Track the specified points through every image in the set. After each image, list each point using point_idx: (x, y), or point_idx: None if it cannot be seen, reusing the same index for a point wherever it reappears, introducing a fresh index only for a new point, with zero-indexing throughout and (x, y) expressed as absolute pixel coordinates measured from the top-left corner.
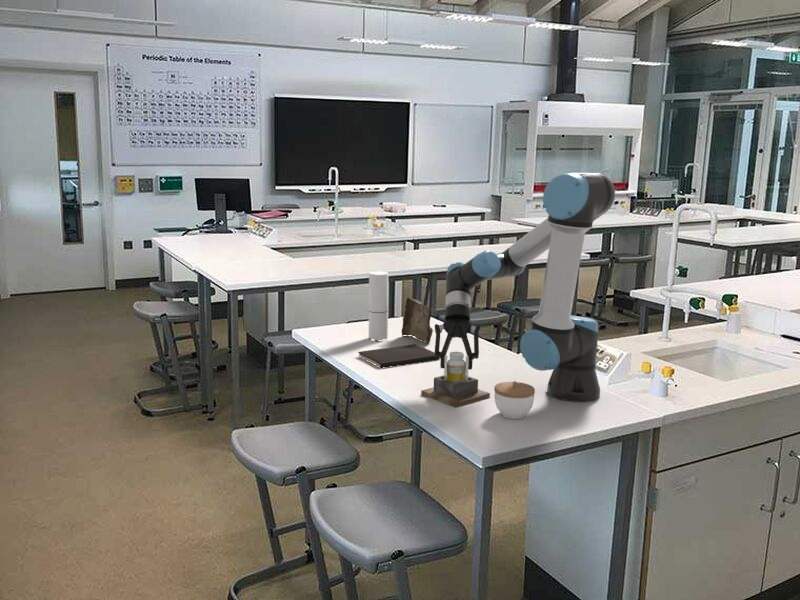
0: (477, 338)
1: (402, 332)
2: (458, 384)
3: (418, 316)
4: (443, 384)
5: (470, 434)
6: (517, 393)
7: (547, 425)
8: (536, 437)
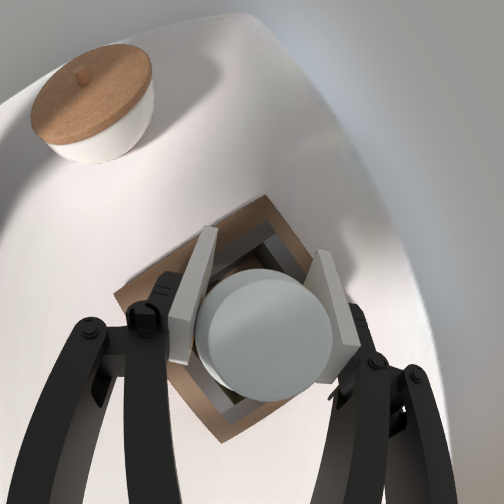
0: (27, 456)
1: None
2: (253, 232)
3: None
4: None
5: (256, 54)
6: (109, 46)
7: None
8: (133, 45)
